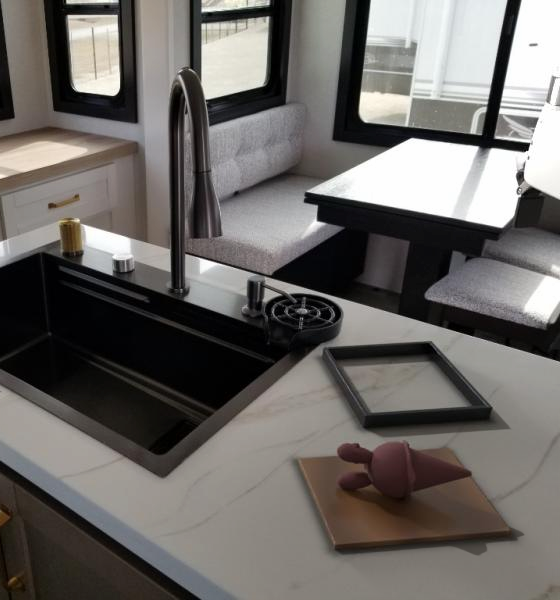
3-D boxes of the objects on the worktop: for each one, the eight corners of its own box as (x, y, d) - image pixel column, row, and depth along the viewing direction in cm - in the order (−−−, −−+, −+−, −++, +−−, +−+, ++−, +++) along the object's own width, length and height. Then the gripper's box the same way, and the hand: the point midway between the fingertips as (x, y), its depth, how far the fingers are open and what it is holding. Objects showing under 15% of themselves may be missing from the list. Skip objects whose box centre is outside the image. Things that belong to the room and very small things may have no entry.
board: (447, 452, 83) (448, 447, 83) (509, 535, 71) (510, 530, 71) (298, 463, 82) (298, 458, 82) (334, 549, 70) (335, 544, 69)
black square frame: (429, 352, 106) (431, 340, 105) (489, 420, 89) (492, 407, 88) (321, 358, 104) (323, 347, 103) (363, 428, 88) (365, 415, 87)
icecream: (465, 431, 76) (335, 426, 79) (482, 459, 69) (338, 452, 72) (462, 485, 77) (334, 478, 81) (478, 517, 70) (338, 508, 74)
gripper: (685, 106, 62) (633, 267, 70) (566, 80, 77) (534, 215, 85) (613, 111, 61) (568, 273, 69) (507, 84, 77) (480, 219, 84)
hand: (549, 241), depth 77 cm, fingers open, 9 cm apart
